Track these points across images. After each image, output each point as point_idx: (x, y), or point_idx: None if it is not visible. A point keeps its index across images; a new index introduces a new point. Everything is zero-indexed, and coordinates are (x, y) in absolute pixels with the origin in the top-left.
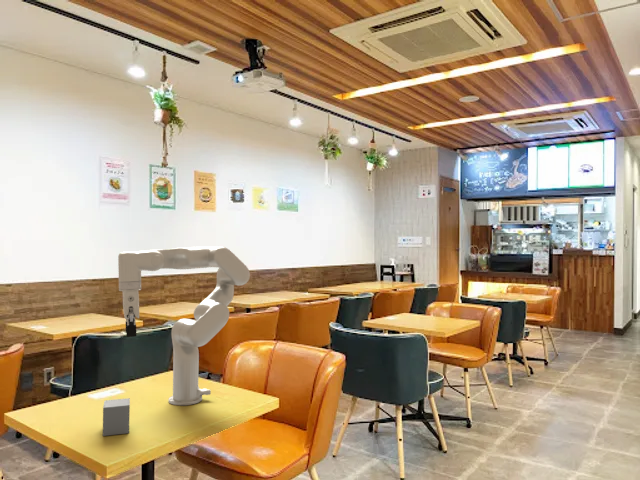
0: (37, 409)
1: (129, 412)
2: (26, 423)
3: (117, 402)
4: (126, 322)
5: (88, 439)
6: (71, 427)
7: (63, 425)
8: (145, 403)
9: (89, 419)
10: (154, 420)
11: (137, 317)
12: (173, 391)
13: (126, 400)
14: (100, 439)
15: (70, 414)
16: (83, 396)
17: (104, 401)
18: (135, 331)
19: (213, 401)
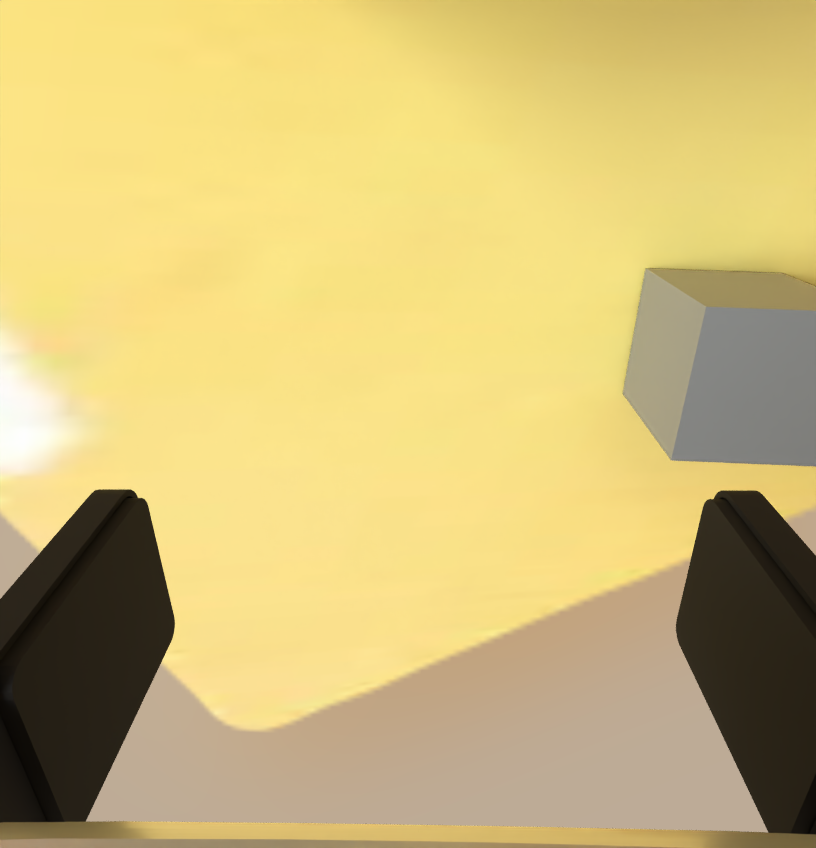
0: (211, 656)
1: (700, 286)
2: (399, 673)
3: (766, 387)
4: (79, 815)
5: None
6: (534, 524)
7: (489, 554)
8: (240, 149)
9: (446, 458)
10: (627, 109)
11: (534, 841)
12: None
13: (752, 330)
14: None
15: (332, 537)
16: (23, 496)
17: (691, 460)
18: (801, 565)
19: None
